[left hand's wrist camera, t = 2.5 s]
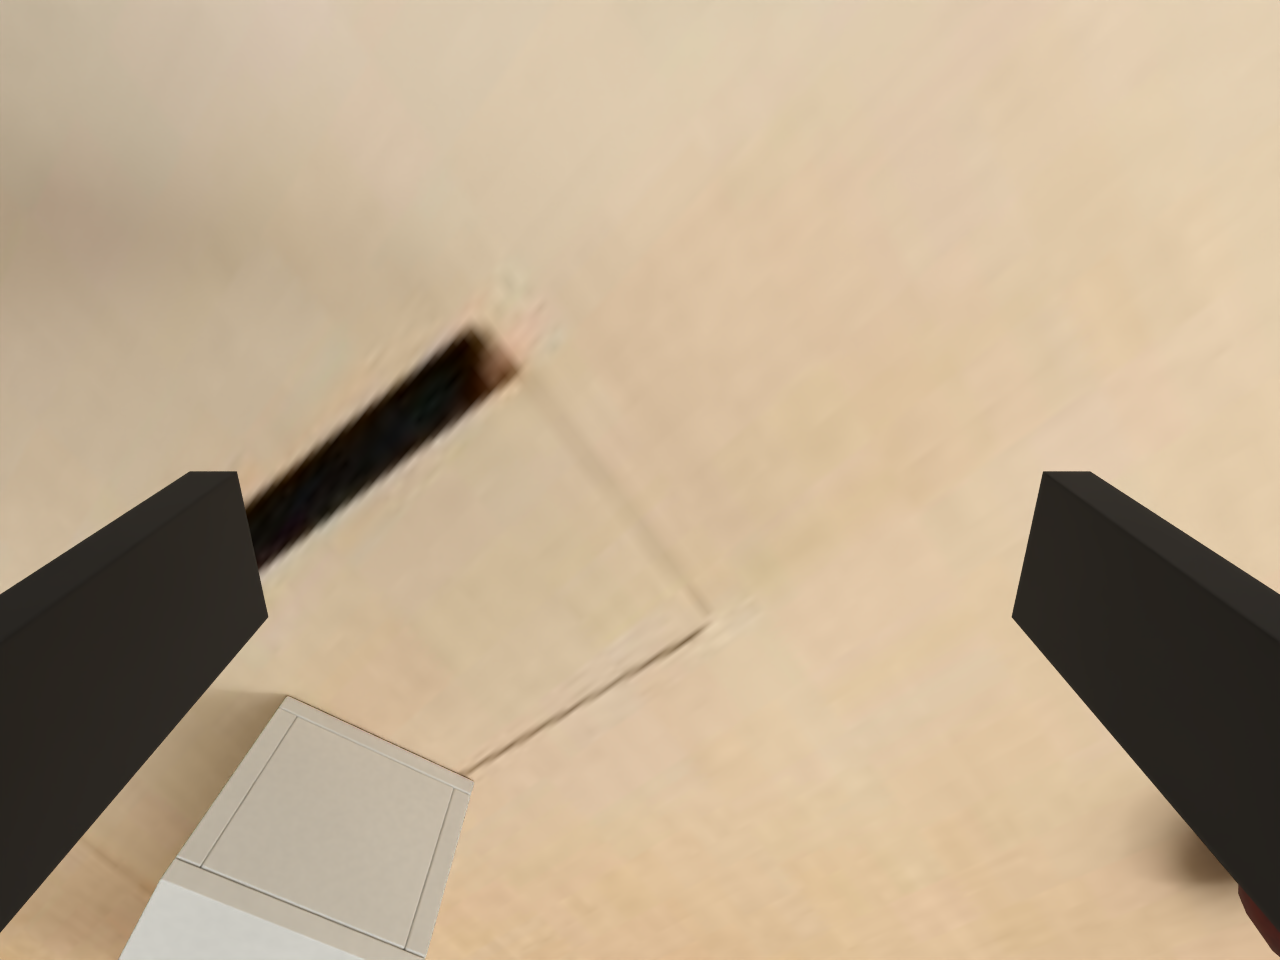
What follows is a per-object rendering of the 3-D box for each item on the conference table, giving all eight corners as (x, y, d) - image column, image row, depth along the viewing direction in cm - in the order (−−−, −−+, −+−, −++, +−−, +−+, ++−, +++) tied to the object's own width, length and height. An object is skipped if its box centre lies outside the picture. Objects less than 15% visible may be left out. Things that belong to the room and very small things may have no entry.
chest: (347, 965, 40) (273, 1163, 32) (176, 898, 38) (52, 1090, 30) (475, 781, 35) (426, 957, 27) (287, 694, 34) (175, 856, 25)
